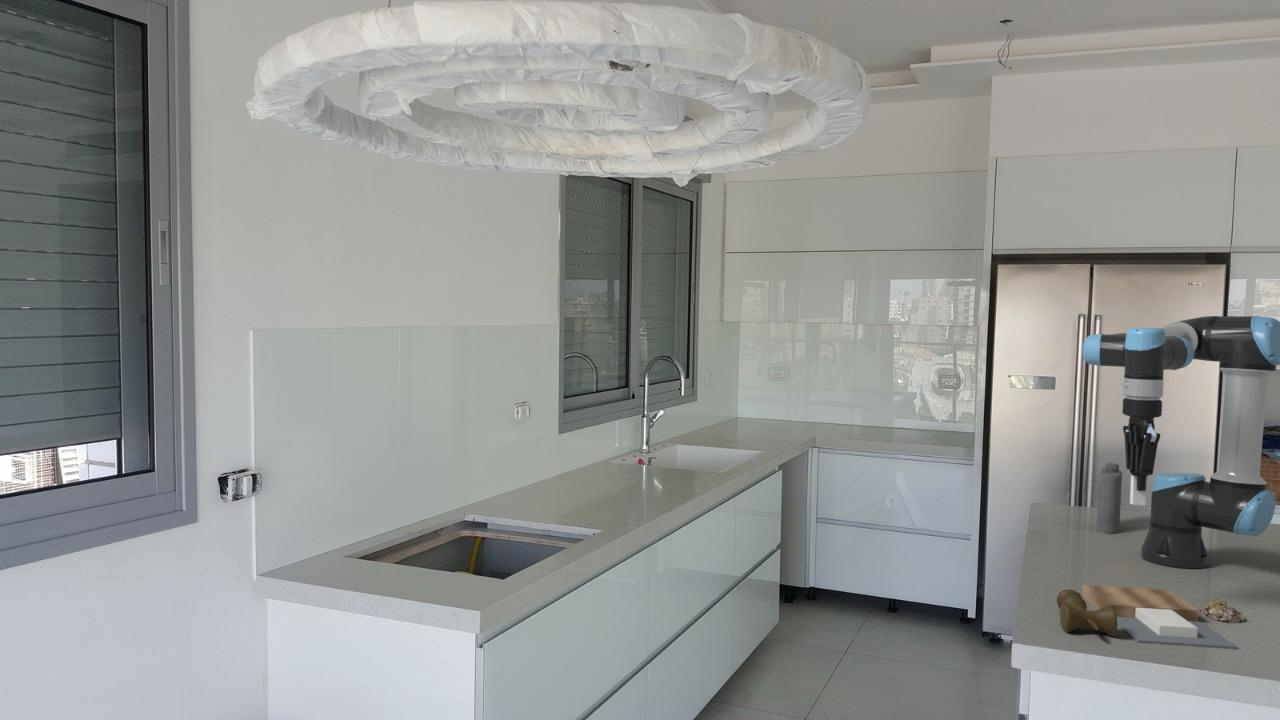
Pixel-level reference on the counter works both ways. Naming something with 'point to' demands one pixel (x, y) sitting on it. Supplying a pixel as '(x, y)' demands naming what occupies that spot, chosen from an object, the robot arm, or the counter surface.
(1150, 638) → the mat
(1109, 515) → the flask
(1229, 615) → the mineral rock
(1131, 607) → the tan wooden board
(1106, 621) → the kendama
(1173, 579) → the counter surface
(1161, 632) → the stone tile
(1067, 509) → the counter surface
